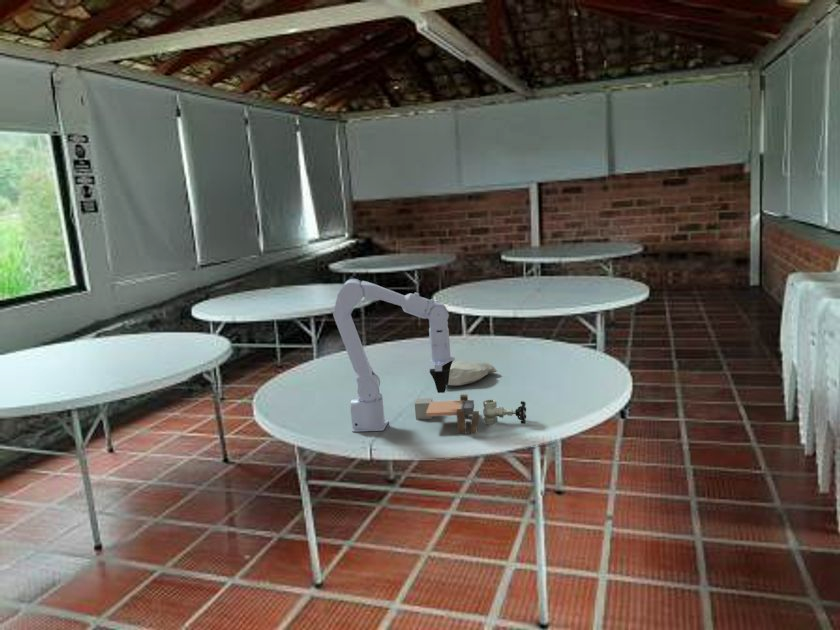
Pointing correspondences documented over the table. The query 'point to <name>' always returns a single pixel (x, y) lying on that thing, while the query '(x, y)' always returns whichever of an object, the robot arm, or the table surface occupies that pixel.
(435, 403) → the trapdoor
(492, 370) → the rock
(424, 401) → the stone block
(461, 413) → the frame
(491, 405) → the valve
